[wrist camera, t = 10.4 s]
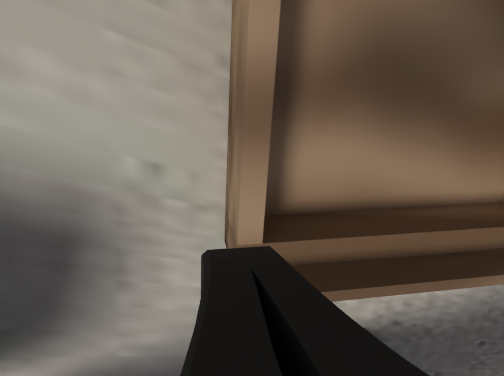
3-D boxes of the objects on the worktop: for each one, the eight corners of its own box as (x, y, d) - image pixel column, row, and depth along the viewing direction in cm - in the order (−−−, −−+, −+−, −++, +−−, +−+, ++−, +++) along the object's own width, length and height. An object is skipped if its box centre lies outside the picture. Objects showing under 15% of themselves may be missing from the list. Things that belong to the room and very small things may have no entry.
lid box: (496, 223, 24) (572, 277, 19) (224, 241, 20) (244, 310, 16) (589, -52, 18) (723, -59, 14) (235, -84, 15) (269, -107, 11)
